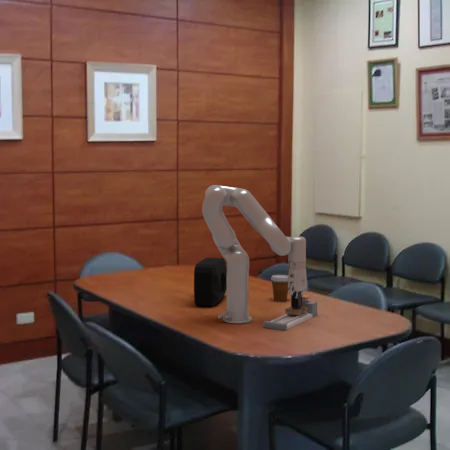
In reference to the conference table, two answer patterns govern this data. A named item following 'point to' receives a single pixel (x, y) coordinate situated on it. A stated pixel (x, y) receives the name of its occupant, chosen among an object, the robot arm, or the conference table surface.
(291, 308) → the carriage
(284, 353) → the conference table surface
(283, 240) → the robot arm
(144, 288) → the conference table surface
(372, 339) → the conference table surface
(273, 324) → the rail track
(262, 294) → the conference table surface
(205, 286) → the black hard case
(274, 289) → the disposable coffee cup
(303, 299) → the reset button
